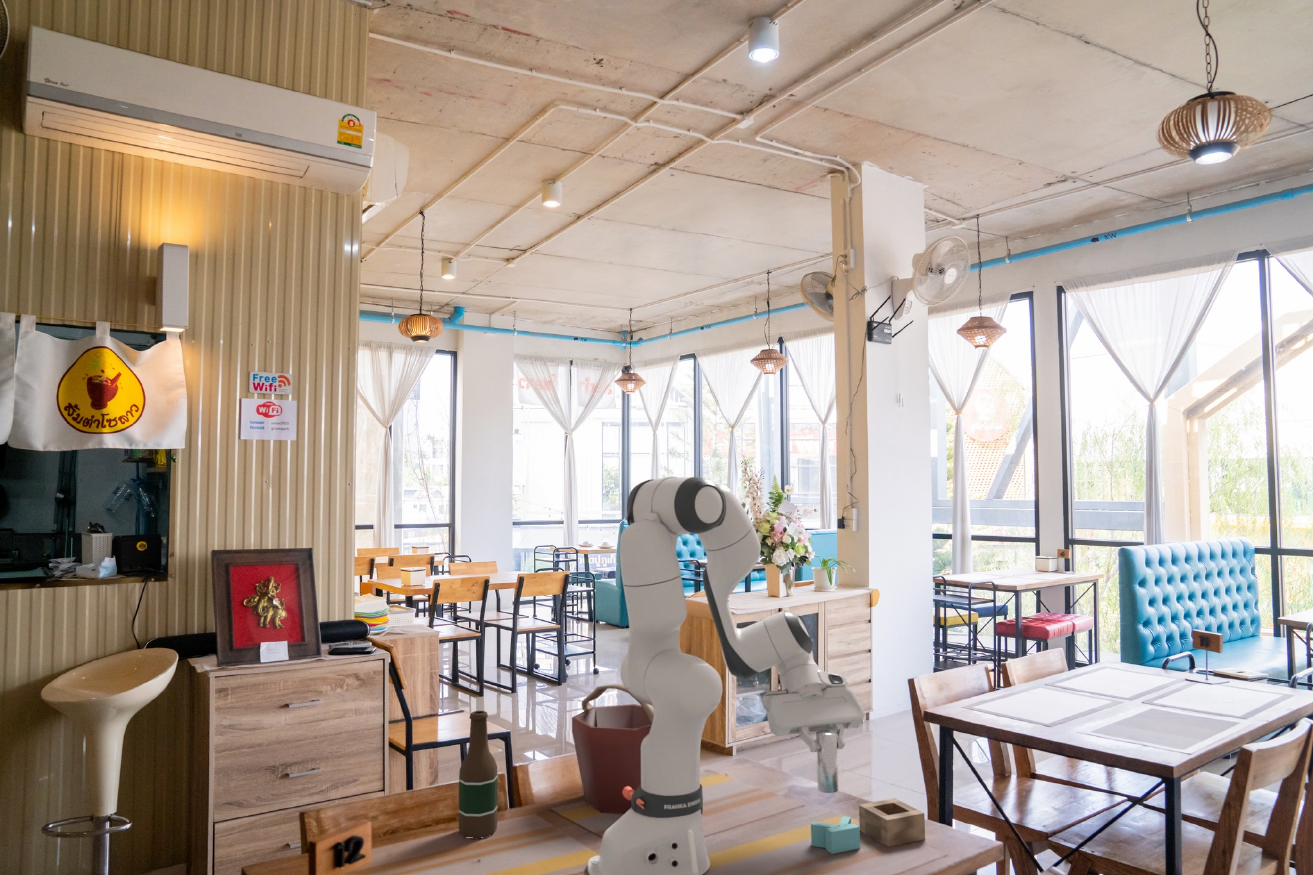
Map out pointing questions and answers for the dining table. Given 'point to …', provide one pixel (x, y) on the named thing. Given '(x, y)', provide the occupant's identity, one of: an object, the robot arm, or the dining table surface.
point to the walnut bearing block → (892, 822)
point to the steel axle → (827, 761)
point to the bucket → (610, 749)
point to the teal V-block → (836, 836)
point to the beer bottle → (478, 783)
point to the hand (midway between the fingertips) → (828, 749)
